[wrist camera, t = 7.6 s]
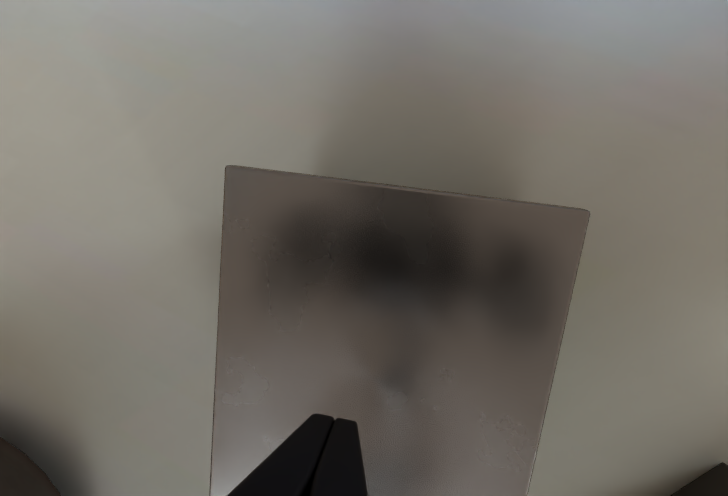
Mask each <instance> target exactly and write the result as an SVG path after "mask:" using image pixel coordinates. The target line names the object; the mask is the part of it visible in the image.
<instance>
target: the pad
mask: <svg viewBox="0 0 728 496" xmlns="http://www.w3.org/2000/svg"><path fill="white" fill-rule="evenodd" d="M671 496H728V466H727V465H726V464H725V463H721V464H720V465H718V466H717V467H715V468H713V469H712V470H710V471H709V472H707V473H706V474H704V475H703V476H701V477H699V478H698V479H696V480H695V481H693V482H692V483H690V484H689V485H687V486H685V487H684V488H682V489H681V490H679V491H678V492H676V493H674V494H673V495H671Z"/></svg>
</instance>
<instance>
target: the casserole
mask: <svg viewBox="0 0 728 496" xmlns="http://www.w3.org/2000/svg"><path fill="white" fill-rule="evenodd" d="M0 496H61V495H60V493H59V492H58V491H57V489H56V488H55V486H54V485H53V484H52V482H51V481H50V479H49V478H48V477H47V475H46V474H45V473H44V472H43V471H42V470H41V469H40V468H39V467H38V466H37V465H36V464H35V463H34V462H33V461H32V460H31V459H30V458H29V457H28V456H27V455H26V454H24V453H23V452H21V451H20V450H19V449H17V448H16V447H14V446H13V445H11V444H10V443H9V442H7V441H6V440H4V439H3V438H1V437H0Z"/></svg>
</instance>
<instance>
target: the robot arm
mask: <svg viewBox="0 0 728 496" xmlns="http://www.w3.org/2000/svg"><path fill="white" fill-rule="evenodd" d="M227 496H368V491H367V485H366V478H365V471H364V465H363V458H362V452H361V445H360V438H359V432H358V425H357V423H356V422H355V421H352V420H348V419H343V418H336V419H334V418H333V417H332V416H328V415H323V414H318V413H315V414H312V415H311V416H310V417H309V418H308V419H307V420H306V421H305V422H304V423H302V424H301V425H300V426H299V427H298V428H297V429H296V430H295V431H294V432H293V433H292V434H291V435H290V436H289V437H288V438H287V439H286V440H285V441H284V442H283V443H281V444H280V445H279V446H278V447H277V448H276V449H275V450H274V451H273V452H272V453H271V454H270V455H269V456H268V457H267V458H266V459H265V460H264V461H263V462H261V463H260V464H259V465H258V466H257V467H256V468H255V469H254V470H253V471H252V472H251V473H250V474H249V475H248V476H247V477H246V478H245V479H244V480H243V481H242V482H240V483H239V484H238V485H237V486H236V487H235V488H234V489H233V490H232V491H231V492H230V493H229V494H228V495H227Z"/></svg>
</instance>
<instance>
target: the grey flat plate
mask: <svg viewBox="0 0 728 496" xmlns="http://www.w3.org/2000/svg"><path fill="white" fill-rule="evenodd" d="M589 217H590V211H588V210H585V209H581V208H574V207H566V206H558V205H550V204H542V203H534V202H526V201H518V200H510V199H502V198H494V197H486V196H478V195H470V194H462V193H454V192H446V191H438V190H430V189H422V188H414V187H406V186H398V185H390V184H382V183H374V182H366V181H358V180H350V179H342V178H334V177H326V176H318V175H310V174H302V173H293V172H285V171H277V170H269V169H261V168H253V167H245V166H237V165H228V166H226V167H225V183H224V204H223V225H222V246H221V267H220V288H219V309H218V330H217V351H216V372H215V393H214V414H213V435H212V455H211V476H210V496H227V495H228V494H229V493H230V492H231V491H232V490H233V489H234V488H235V487H236V486H237V485H238V484H239V483H240V482H242V481H243V480H244V479H245V478H246V477H247V476H248V475H249V474H250V473H251V472H252V471H253V470H254V469H255V468H256V467H257V466H258V465H259V464H260V463H261V462H263V461H264V460H265V459H266V458H267V457H268V456H269V455H270V454H271V453H272V452H273V451H274V450H275V449H276V448H277V447H278V446H279V445H280V444H281V443H283V442H284V441H285V440H286V439H287V438H288V437H289V436H290V435H291V434H292V433H293V432H294V431H295V430H296V429H297V428H298V427H299V426H300V425H301V424H302V423H304V422H305V421H306V420H307V419H308V418H309V417H310V416H311V415H312V414H315V413H318V414H323V415H328V416H332V417H333V418H334V419H336V418H343V419H348V420H352V421H355V422H356V423H357V425H358V432H359V438H360V445H361V452H362V458H363V465H364V471H365V478H366V485H367V491H368V496H527V494H528V490H529V485H530V481H531V476H532V472H533V467H534V463H535V458H536V454H537V449H538V445H539V440H540V436H541V432H542V427H543V423H544V418H545V414H546V409H547V405H548V400H549V396H550V391H551V387H552V382H553V378H554V373H555V369H556V364H557V360H558V355H559V351H560V346H561V342H562V338H563V333H564V329H565V324H566V320H567V315H568V311H569V306H570V302H571V297H572V293H573V288H574V284H575V279H576V275H577V270H578V266H579V261H580V257H581V252H582V248H583V244H584V239H585V235H586V230H587V226H588V221H589Z"/></svg>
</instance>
